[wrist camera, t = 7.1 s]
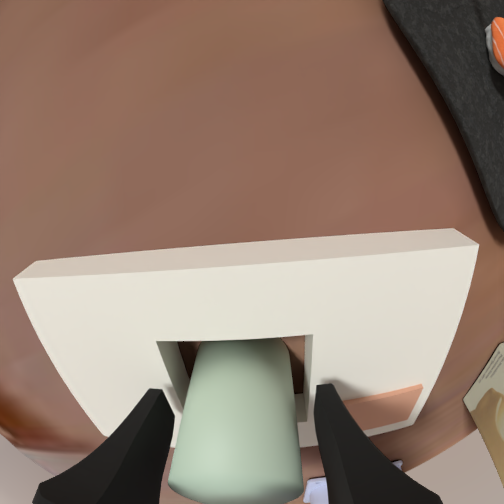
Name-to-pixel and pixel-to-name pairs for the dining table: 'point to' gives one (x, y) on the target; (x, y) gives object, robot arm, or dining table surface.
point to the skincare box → (490, 407)
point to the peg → (239, 426)
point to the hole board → (258, 318)
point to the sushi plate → (465, 74)
